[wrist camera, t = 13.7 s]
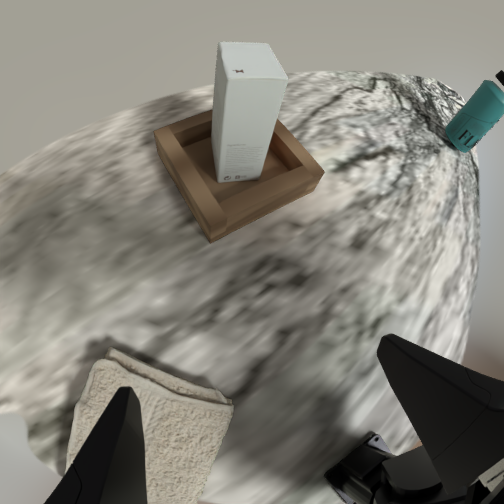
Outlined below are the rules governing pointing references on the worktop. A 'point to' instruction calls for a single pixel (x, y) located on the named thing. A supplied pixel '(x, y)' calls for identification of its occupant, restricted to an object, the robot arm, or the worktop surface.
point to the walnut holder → (238, 192)
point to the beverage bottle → (477, 115)
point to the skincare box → (244, 108)
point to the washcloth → (159, 424)
